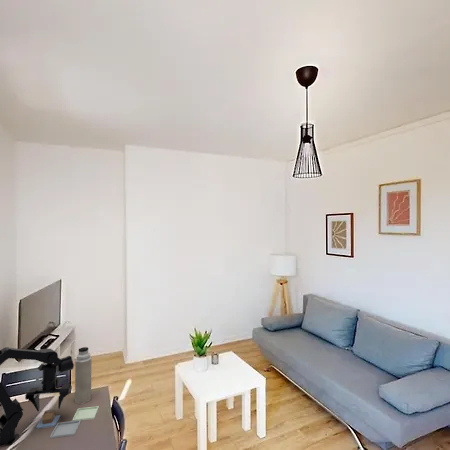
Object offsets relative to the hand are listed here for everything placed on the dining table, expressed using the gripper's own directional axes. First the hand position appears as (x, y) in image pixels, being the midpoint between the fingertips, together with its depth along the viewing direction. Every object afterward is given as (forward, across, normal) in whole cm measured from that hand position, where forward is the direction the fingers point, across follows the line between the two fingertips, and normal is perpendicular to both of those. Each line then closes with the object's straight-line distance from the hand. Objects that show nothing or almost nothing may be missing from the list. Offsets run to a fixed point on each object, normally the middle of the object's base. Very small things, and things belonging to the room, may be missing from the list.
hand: (49, 409), depth 145 cm
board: (+6, 0, 0) cm, 6 cm away
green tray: (+6, -16, -3) cm, 17 cm away
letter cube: (+5, 0, 0) cm, 5 cm away
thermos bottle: (+6, -11, -18) cm, 22 cm away
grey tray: (+6, -10, +8) cm, 14 cm away
